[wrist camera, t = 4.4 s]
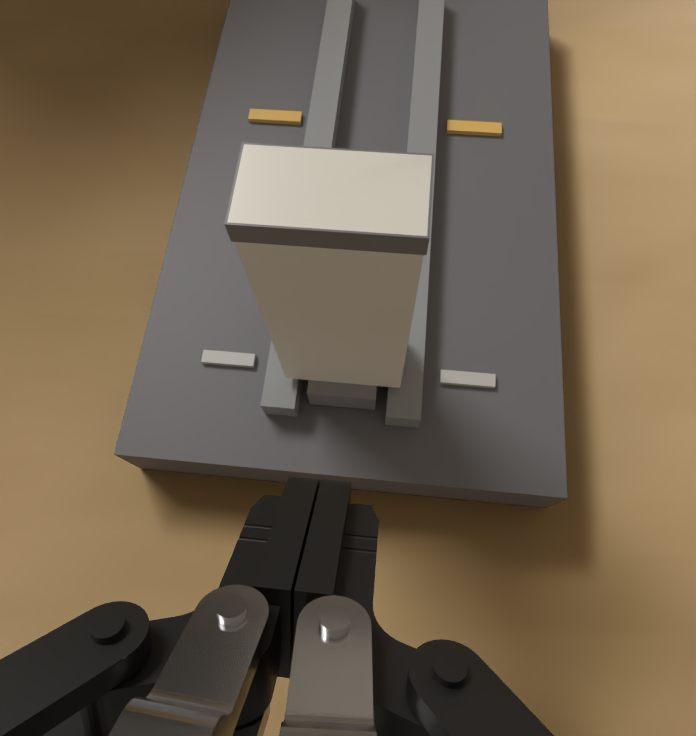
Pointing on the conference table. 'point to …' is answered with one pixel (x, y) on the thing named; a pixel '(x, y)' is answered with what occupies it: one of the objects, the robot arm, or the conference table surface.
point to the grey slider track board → (438, 273)
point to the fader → (334, 260)
